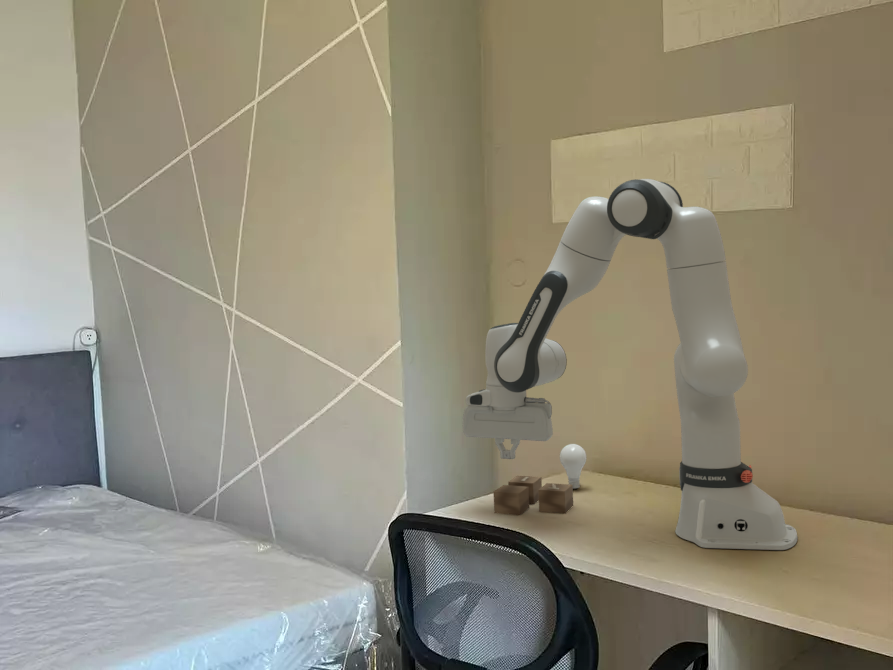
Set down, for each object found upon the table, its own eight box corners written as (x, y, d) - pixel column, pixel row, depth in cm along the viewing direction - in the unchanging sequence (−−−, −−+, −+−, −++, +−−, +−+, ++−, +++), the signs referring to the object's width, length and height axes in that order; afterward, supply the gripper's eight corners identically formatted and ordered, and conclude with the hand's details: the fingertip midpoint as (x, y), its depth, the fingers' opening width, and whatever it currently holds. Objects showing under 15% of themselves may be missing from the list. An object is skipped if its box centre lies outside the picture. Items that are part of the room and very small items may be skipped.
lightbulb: (556, 487, 214) (554, 443, 214) (580, 484, 216) (578, 440, 215) (567, 493, 208) (566, 447, 208) (592, 490, 210) (590, 445, 209)
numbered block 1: (542, 498, 206) (541, 476, 206) (533, 504, 201) (533, 482, 201) (518, 496, 209) (517, 475, 209) (509, 503, 203) (508, 481, 203)
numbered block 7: (573, 506, 198) (572, 484, 198) (565, 513, 193) (564, 490, 192) (547, 504, 201) (546, 482, 200) (539, 512, 195) (538, 489, 195)
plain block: (529, 508, 198) (528, 486, 198) (519, 515, 193) (518, 493, 192) (504, 506, 201) (503, 484, 200) (494, 513, 195) (493, 491, 195)
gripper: (556, 396, 193) (557, 458, 194) (470, 393, 202) (471, 452, 203) (546, 400, 188) (548, 464, 189) (458, 397, 196) (460, 458, 197)
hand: (507, 458), depth 196 cm, fingers closed
